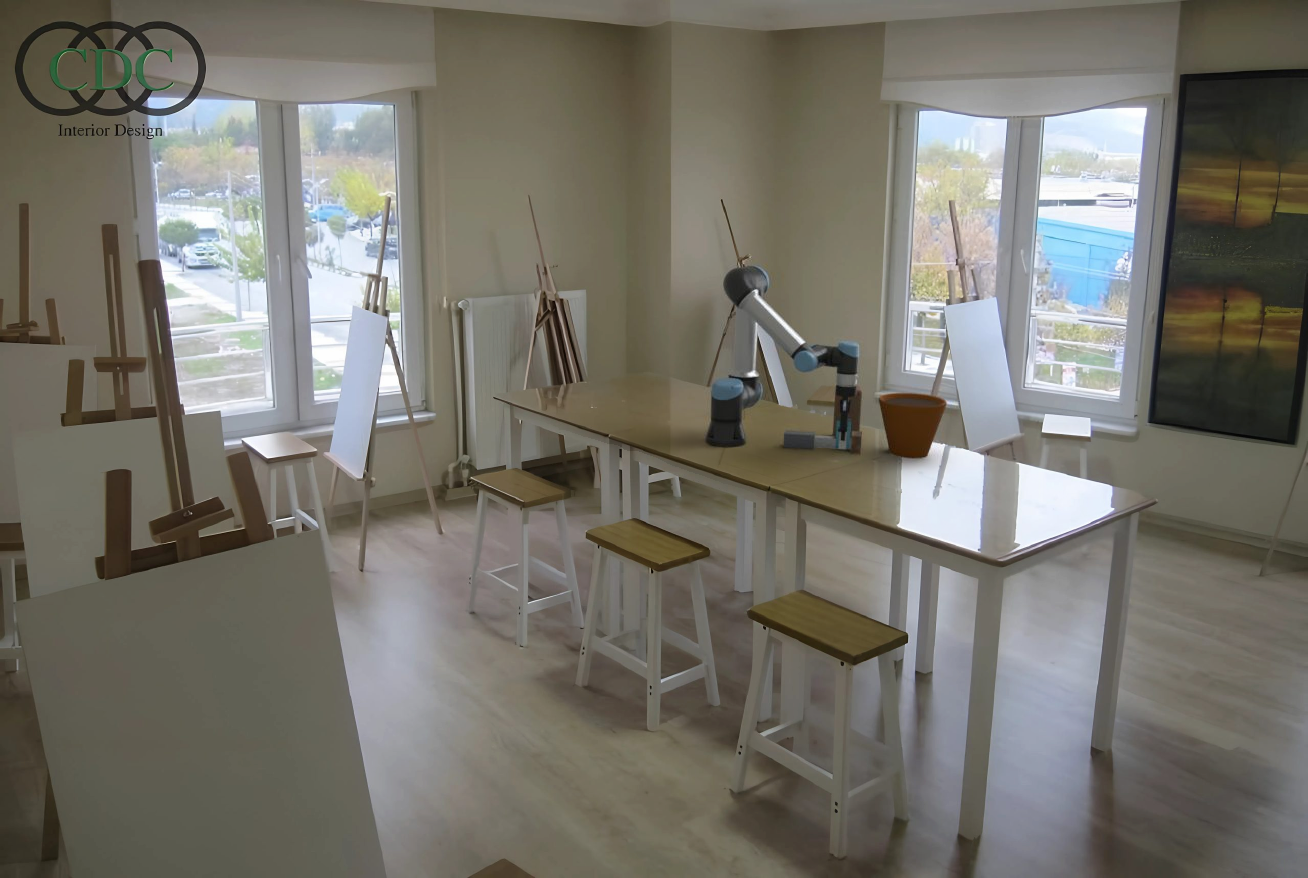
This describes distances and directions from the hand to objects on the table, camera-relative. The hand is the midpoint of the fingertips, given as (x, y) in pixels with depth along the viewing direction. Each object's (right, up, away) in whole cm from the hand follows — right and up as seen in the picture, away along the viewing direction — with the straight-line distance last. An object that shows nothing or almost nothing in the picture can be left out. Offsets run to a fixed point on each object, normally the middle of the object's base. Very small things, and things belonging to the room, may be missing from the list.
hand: (842, 446), depth 385 cm
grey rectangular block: (-16, 0, +4) cm, 16 cm away
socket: (+5, -1, -1) cm, 5 cm away
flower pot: (+24, -2, -2) cm, 24 cm away
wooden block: (+5, +3, +18) cm, 19 cm away
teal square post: (-3, 0, +1) cm, 4 cm away
